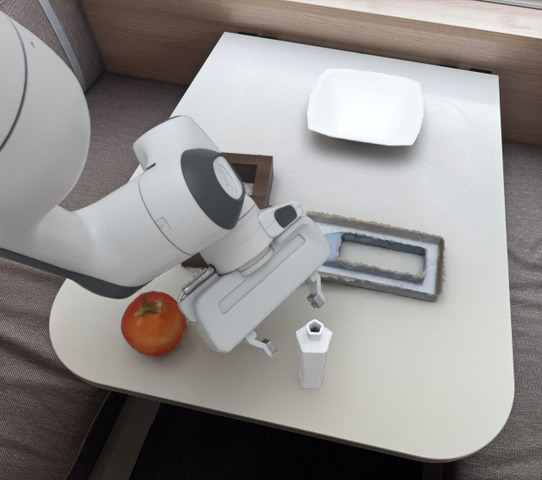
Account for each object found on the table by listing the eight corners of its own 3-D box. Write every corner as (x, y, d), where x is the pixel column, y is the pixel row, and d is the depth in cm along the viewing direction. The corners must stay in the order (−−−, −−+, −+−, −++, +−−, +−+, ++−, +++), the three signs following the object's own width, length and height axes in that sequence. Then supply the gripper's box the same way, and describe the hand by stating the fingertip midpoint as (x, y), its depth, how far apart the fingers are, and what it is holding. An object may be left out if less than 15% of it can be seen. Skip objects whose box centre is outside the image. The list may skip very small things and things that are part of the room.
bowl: (415, 171, 101) (420, 150, 97) (298, 153, 103) (298, 131, 99) (421, 101, 115) (427, 79, 110) (318, 86, 117) (319, 63, 112)
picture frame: (304, 219, 93) (305, 208, 91) (444, 242, 91) (448, 232, 89) (288, 280, 85) (288, 270, 82) (441, 307, 83) (445, 297, 80)
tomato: (175, 371, 74) (164, 346, 68) (116, 354, 76) (100, 328, 69) (201, 317, 80) (193, 289, 74) (146, 301, 81) (134, 273, 75)
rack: (257, 272, 85) (256, 254, 81) (181, 266, 85) (176, 248, 81) (273, 175, 99) (272, 155, 95) (208, 170, 99) (204, 150, 95)
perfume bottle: (300, 357, 76) (302, 306, 65) (329, 366, 76) (336, 316, 64) (290, 386, 74) (289, 337, 62) (319, 396, 73) (325, 348, 61)
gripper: (179, 298, 55) (250, 391, 60) (306, 193, 65) (359, 280, 69) (160, 296, 61) (227, 382, 65) (281, 199, 71) (331, 279, 75)
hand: (296, 328), depth 67 cm, fingers open, 8 cm apart
